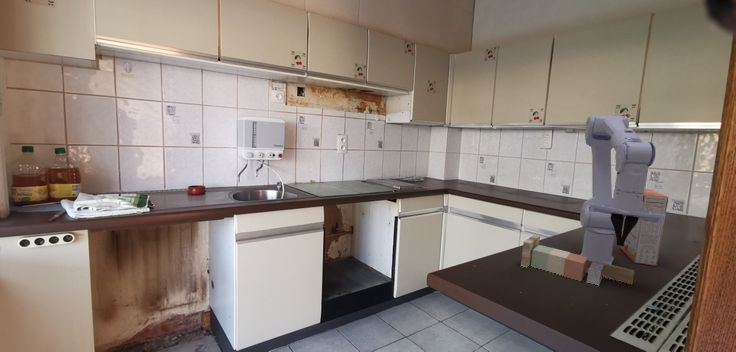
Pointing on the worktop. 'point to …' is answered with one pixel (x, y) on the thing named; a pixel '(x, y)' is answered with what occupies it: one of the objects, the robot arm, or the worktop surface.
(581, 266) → the pink rectangular block
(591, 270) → the grey rectangular block
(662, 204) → the cracker box
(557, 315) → the worktop surface
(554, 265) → the cream rectangular block
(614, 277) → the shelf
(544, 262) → the pale green block
